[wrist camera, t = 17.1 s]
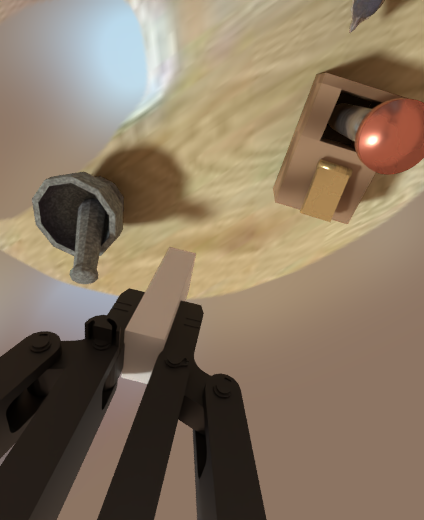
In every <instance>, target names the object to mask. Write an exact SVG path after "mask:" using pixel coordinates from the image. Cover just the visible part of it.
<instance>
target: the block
mask: <svg viewBox="0 0 424 520" xmlns="http://www.w3.org/2000/svg"><path fill="white" fill-rule="evenodd" d="M340 92H342V93H345V94H348V95H352V96H355V97H358V98H361V99H364V100H368V101H371V104H370V106H369V108H370V109H374V108H375V107H376V106H378V105H379V104H381V103H383V102H385V101H388V100H392V99H399V98H403V99H408V98H405V97H402V96H399V95H395V94H392V93H389V92H386V91H383V90H380V89H376V88H373V87H370V86H367V85H364V84H361V83H357V82H354V81H351V80H348V79H345V78H342V77H338V76H335V75H332V74H329V73H321V74H316V77H315V80H314V82H313V85H312V88H311V90H310V93H309V95H308V98H307V101H306V103H305V106H304V109H303V111H302V114H301V116H300V119H299V122H298V124H297V127H296V130H295V132H294V135H293V137H292V140H291V143H290V145H289V148H288V151H287V153H286V156H285V158H284V161H283V164H282V166H281V169H280V172H279V174H278V177H277V179H276V182H275V185H274V187H273V191H274V197H275V202H276V203H280V204H283V205H286V206H289V207H293V208H296V209H299V210H301V207H302V205H303V202H304V200H305V197H306V195H307V192H308V189H309V187H310V184H311V182H312V179H313V176H314V174H315V171H316V166H317V163H318V161H319V160H320V159H321V160H324V161H327V162H331V163H334V164H337V165H340V166H344V167H347V168H350V169H353V172H352V175H351V177H350V178H349V179H348V181H347V184H346V186H345V188H344V191H343V193H342V195H341V198H340V200H339V202H338V205H337V207H336V210H335V212H334V214H333V217H332V220H335V221H339V222H342V223H345V224H348V223H349V221H350V219H351V217H352V215H353V214H354V212H355V210H356V208H357V206H358V204H359V203H360V201H361V199H362V197H363V195H364V193H365V192H366V190H367V188H368V186H369V184H370V182H371V181H372V179H373V177H374V175H375V173H376V172H374V171H373V170H371V169H369V168H368V167H367V166H366V165H364V164H363V163H362V162H361V161H360V159H359V158H358V156H357V154H356V150H355V142H354V141H353V142H352V144H351V146H349V145H346V144H343V143H340V142H336V141H333V140H330V139H327V138H324V137H322V135H323V132H324V130H325V128H326V125H327V123H328V121H329V118H330V116H331V114H332V111H333V109H334V107H335V104H336V102H337V100H338V97H339V95H340Z"/></svg>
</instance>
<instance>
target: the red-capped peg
mask: <svg viewBox="0 0 424 520" xmlns="http://www.w3.org/2000/svg"><path fill="white" fill-rule="evenodd" d="M328 123H329V125H330V127H331V128H332V129H334V130H335V131H337V132H339V133H341V134H342V135H344V136H346V137H347V138H349V139H351V140H352V141H354V142H355V150H356V154H357V156H358V158H359V159H360V161H361V162H362V163H363V164H364V165H366V166H367V167H368V168H369V169H371V170H373V171H374V172H377V173H380V174H397V173H400V172H403V171H406V170H408V169H410V168H412V167H413V166H415V165H416V164H417V163H419V162H420V161H421V160H422V159H423V158H424V103H423V102H420V101H418V100H414V99H403V98H399V99H392V100H388V101H385V102H383V103H381V104H379V105H378V106H376V107H375V108H374V109H370V108H365V107H360V106H356V105H351V104H346V103H341V104H338V105H336V106H335V107H334V109H333V111H332V114H331V116H330V118H329V121H328Z"/></svg>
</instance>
